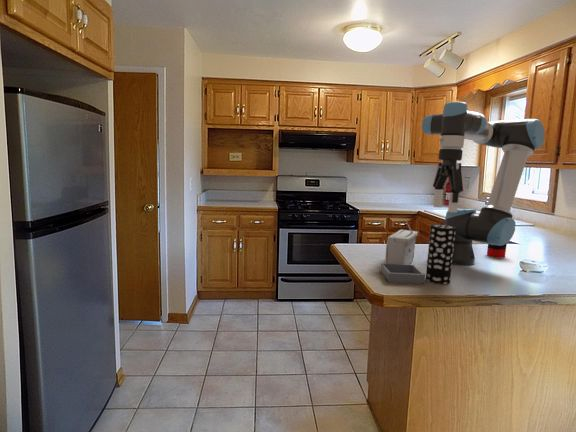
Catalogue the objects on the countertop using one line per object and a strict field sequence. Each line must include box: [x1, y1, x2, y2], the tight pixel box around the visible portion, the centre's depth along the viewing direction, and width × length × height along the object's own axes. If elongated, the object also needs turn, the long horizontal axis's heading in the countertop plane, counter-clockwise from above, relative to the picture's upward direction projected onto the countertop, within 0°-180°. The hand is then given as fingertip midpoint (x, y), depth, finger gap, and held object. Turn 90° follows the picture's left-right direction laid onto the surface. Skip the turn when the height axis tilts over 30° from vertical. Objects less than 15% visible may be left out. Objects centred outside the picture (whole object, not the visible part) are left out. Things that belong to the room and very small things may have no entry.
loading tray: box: [379, 263, 426, 285], centre depth 139 cm, size 13×13×4 cm
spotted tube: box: [425, 224, 456, 285], centre depth 136 cm, size 8×8×20 cm
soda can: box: [486, 243, 508, 259], centre depth 178 cm, size 8×8×12 cm
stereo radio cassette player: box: [384, 220, 419, 265], centre depth 156 cm, size 21×8×20 cm, turn 150°
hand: (444, 209), depth 134 cm, fingers open, 13 cm apart
